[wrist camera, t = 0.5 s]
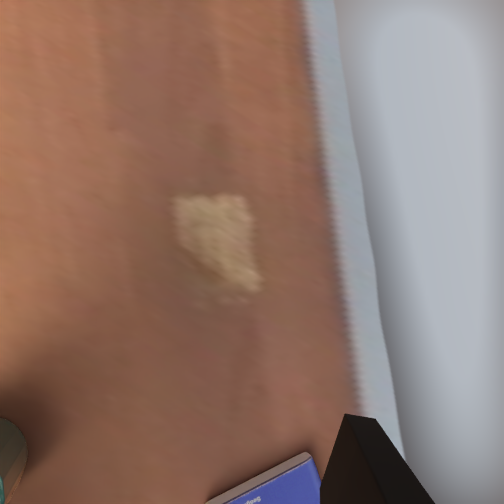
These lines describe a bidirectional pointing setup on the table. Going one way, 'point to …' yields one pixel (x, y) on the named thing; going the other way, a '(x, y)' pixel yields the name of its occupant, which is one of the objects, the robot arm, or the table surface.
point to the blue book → (278, 485)
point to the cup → (11, 459)
